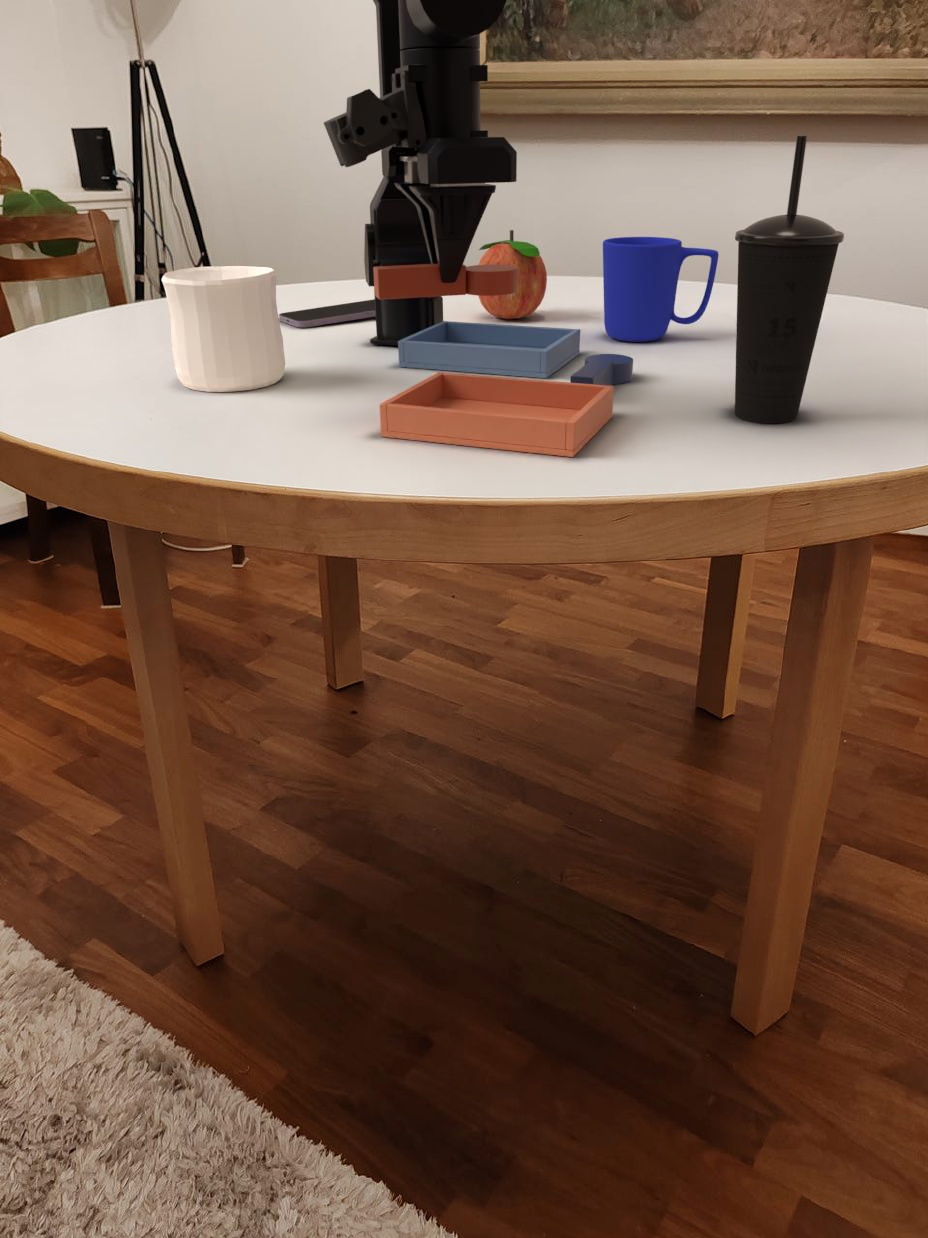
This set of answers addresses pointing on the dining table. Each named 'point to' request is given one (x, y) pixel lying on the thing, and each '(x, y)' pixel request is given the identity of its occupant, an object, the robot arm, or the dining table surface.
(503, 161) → the robot arm
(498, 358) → the blue tray
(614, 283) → the mug
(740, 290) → the drinking cup
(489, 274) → the terracotta spoon
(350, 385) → the dining table surface
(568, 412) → the terracotta tray
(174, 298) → the cup
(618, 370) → the blue spoon
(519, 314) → the fruit
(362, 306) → the smartphone
